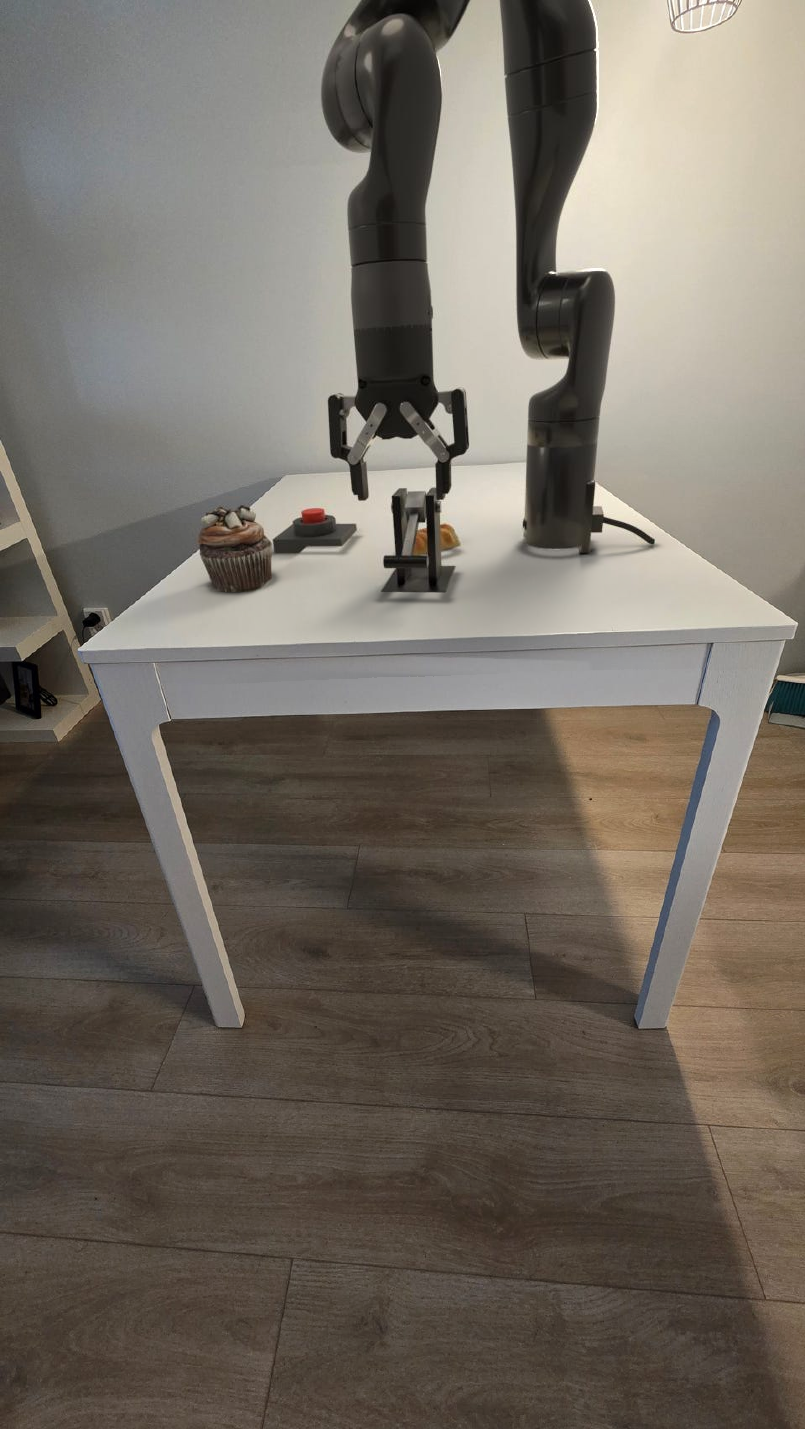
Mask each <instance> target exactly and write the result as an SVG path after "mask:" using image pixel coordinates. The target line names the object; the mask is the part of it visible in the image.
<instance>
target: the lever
mask: <svg viewBox="0 0 805 1429" xmlns="http://www.w3.org/2000/svg"><path fill="white" fill-rule="evenodd" d="M426 494H427V491H426V490H418V491H417V490H413V491H412V490H411V491H408V490H407V498H406V503H405V512H406V518H407V523H408V525H407V530H406V535H405V540H404V545H403V550H402V555H395V554H394V555H393V554H392V555H391V554H388V555H385V554H384V555H383V560H382V562H383V563H382V564H383V569H396V568H428V565H429V558H428V554H422V555H413V552H414V547H415V542H416V536H417V531H418V530H419V524H425V523H426V501H425V495H426Z"/></svg>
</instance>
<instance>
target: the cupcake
mask: <svg viewBox="0 0 805 1429" xmlns="http://www.w3.org/2000/svg"><path fill="white" fill-rule="evenodd" d="M256 518H257V512H255V511H254V510H252V509H251V508H250V506H247V505H244V504H240V505H239V506H238V507H237V508H236V509H231V508H229V509H226V508H224V507H223V506H218V507H216V508H214V509H213V510H212V511H211V512H210V511H209V512H206V513H205V515H204V516H203V517H201V518H200V524H201V527H202V528H201V529H200V532H199V534H198V539H197V545H199V547H198V548H199V556H200V559H201V561H202V563H203V565H204V567H205V569H206V572H207V574H208V577H209V579H210V582H211V584H212V586H213V588H214V589H215V590H217V591H219V592H222V593H244V592H250V591H254V590H258V589H261V588H262V587H264V586H265V585H266V584H267V583H269V582H270V581H271V580H272V557H273V556H272V555H273V542H272V541H271V540H270V539H269V538H268V537H267V536H266V535H265V530H264V527H263V526H262V525H261V524H260V523H258V522H257V521H256Z"/></svg>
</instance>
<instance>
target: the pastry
mask: <svg viewBox="0 0 805 1429" xmlns="http://www.w3.org/2000/svg"><path fill="white" fill-rule="evenodd" d="M440 531H441V552H443V551H445V550H449V549H450V550H451V549H453V548H456V547H457V548H458V547H460V546H461V541H460V540H459V536H458V535H457V533H456V531H455V528H454V527H453V526H451V524H447V523H442V524H441V523H440ZM413 555H428V550H427V527H424V528H419V529H418V531H417V536H416V542H415V547H414V552H413Z"/></svg>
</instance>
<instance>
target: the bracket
mask: <svg viewBox="0 0 805 1429" xmlns="http://www.w3.org/2000/svg"><path fill="white" fill-rule="evenodd" d="M407 493H408V488H407V487H400V488H398V489H397V490H396V491H395V492H394V493H393V494H392V495H391V503H390V511H391V513H392V524H393V537H394V538H393V540H394V553H395V554H394V555H402V550H403V545H404V540H405V535H406V530H407V525H408V523H407V518H406V512H405V503H406V498H407ZM425 501H426V521H425V523H426V528H427V550H428V554H427V555H428V558H429V565H428V568H394V570H393V572H392V573H391V574H390V577H389V578H388V579H387V581H386V583H385V584H384V586H383V587H382V588H381V590H380V592H381V593H446V592H447V590H448V588H449V585H450V582H451V580H452V577H453V575H454V573H455V570H456V568H457V566H456V565H442V551H441V531H440V525H441V513H442V511H443V502H442V501H443V500H437V499H436V486H435V487H430V489H429V490H428V491H427V492H426V495H425Z"/></svg>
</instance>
